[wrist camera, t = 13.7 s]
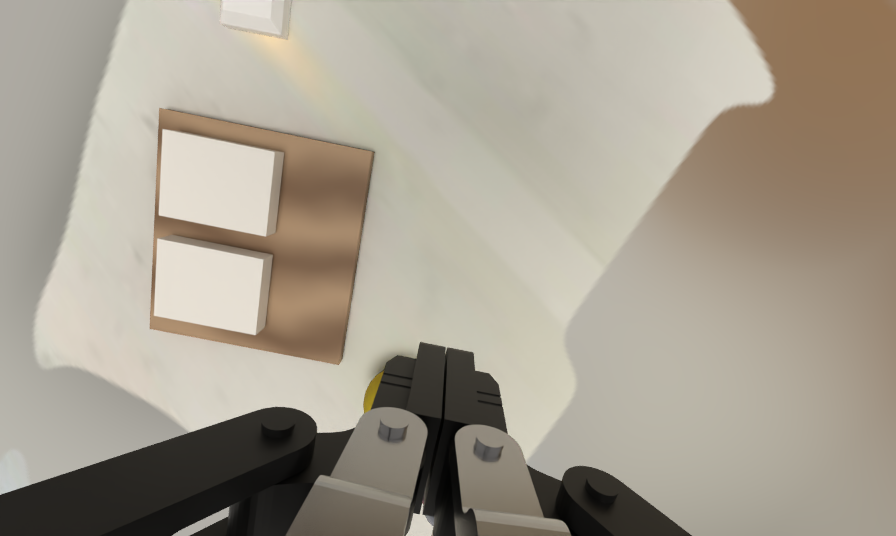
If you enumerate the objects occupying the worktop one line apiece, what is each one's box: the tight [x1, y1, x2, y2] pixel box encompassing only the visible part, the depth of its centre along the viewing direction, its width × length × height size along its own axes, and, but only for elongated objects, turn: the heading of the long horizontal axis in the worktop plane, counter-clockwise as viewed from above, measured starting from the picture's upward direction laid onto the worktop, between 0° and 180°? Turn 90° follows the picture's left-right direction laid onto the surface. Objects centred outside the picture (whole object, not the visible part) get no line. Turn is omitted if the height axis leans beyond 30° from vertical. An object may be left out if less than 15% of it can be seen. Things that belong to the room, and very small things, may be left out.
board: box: [150, 108, 374, 365], centre depth 40 cm, size 20×18×1 cm
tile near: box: [159, 129, 284, 237], centre depth 37 cm, size 7×2×9 cm
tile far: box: [154, 235, 273, 335], centre depth 40 cm, size 7×2×9 cm
